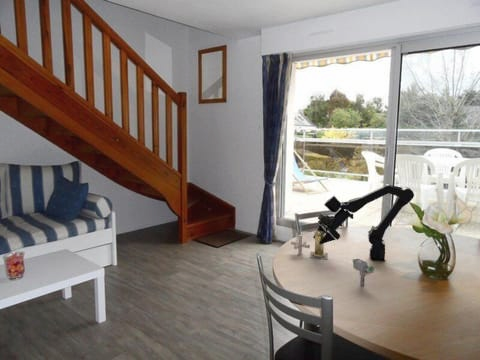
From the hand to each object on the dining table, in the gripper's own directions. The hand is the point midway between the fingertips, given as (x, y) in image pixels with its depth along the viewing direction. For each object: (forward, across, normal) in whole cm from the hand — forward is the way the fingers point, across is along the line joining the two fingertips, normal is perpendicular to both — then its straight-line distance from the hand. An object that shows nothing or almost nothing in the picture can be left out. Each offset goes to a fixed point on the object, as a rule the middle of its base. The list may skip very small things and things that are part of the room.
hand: (316, 240), depth 184 cm
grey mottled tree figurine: (0, +36, +12) cm, 37 cm away
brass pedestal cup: (+4, 0, +6) cm, 8 cm away
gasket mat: (+4, 0, +7) cm, 8 cm away
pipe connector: (+11, -3, 0) cm, 11 cm away
